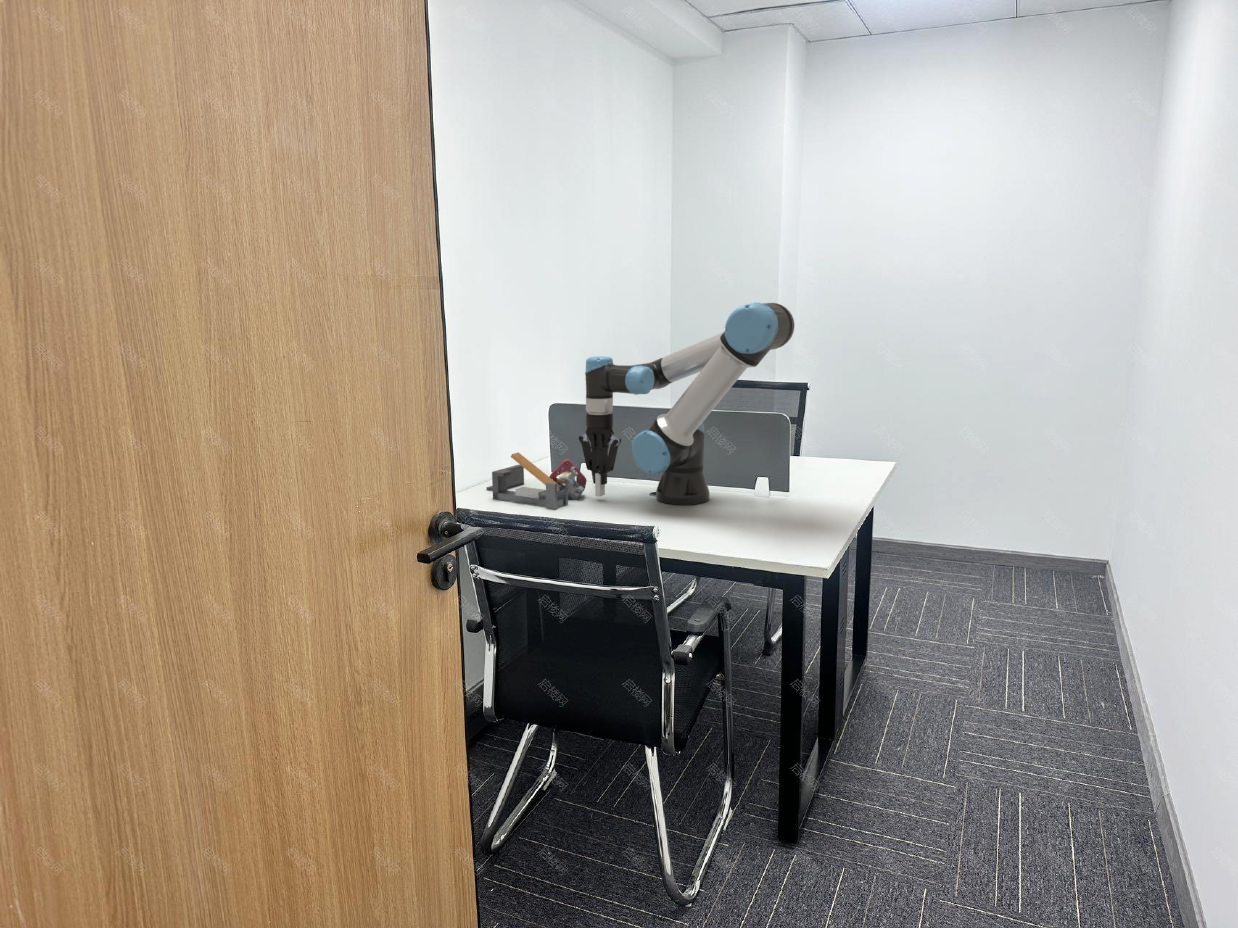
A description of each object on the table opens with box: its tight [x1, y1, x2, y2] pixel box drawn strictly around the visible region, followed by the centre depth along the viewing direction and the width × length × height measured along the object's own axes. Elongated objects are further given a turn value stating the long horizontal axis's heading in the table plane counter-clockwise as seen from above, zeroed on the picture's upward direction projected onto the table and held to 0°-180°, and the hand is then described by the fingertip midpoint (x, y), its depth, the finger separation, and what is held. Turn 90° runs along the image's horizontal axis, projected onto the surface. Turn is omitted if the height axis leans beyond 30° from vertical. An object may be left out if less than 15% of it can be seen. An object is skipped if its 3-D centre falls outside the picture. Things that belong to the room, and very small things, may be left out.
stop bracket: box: [485, 464, 525, 492], centre depth 255 cm, size 5×12×6 cm, turn 149°
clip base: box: [491, 468, 569, 510], centre depth 236 cm, size 22×6×8 cm, turn 59°
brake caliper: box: [549, 458, 587, 500], centre depth 241 cm, size 11×11×12 cm
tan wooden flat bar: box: [510, 452, 562, 491], centre depth 233 cm, size 17×3×1 cm
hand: (600, 495), depth 238 cm, fingers closed
